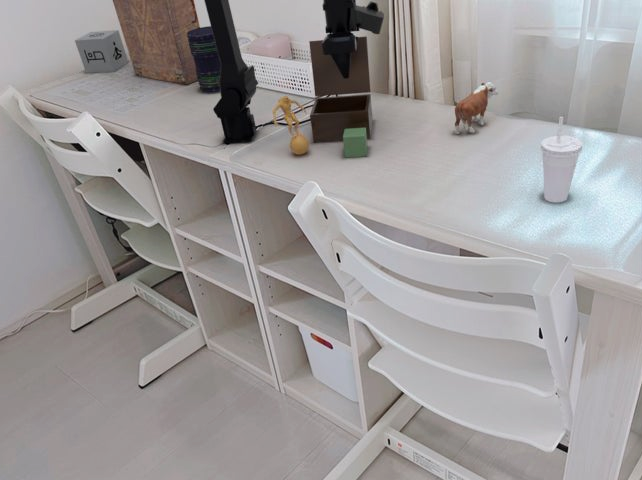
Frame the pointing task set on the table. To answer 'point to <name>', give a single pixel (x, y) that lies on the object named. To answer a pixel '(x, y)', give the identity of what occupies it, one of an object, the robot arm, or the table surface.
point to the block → (355, 142)
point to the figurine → (297, 142)
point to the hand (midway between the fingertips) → (346, 77)
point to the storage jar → (205, 58)
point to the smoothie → (559, 164)
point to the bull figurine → (474, 106)
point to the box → (340, 116)
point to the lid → (331, 78)
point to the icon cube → (101, 51)
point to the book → (159, 37)
